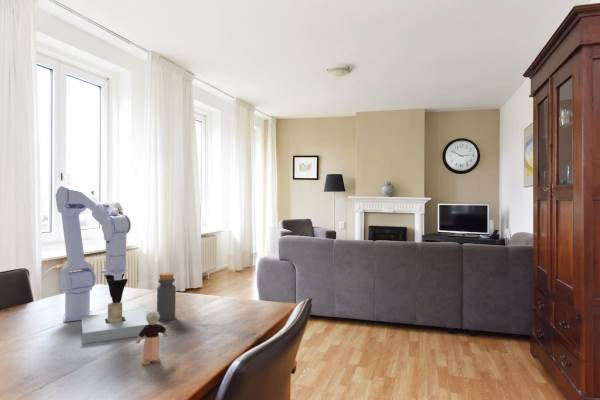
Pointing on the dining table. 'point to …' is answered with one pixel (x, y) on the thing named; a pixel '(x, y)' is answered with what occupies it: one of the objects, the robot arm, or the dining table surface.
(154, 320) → the grandmother figurine
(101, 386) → the dining table surface
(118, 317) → the peg
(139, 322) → the socket block
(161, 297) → the bottle
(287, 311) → the dining table surface
